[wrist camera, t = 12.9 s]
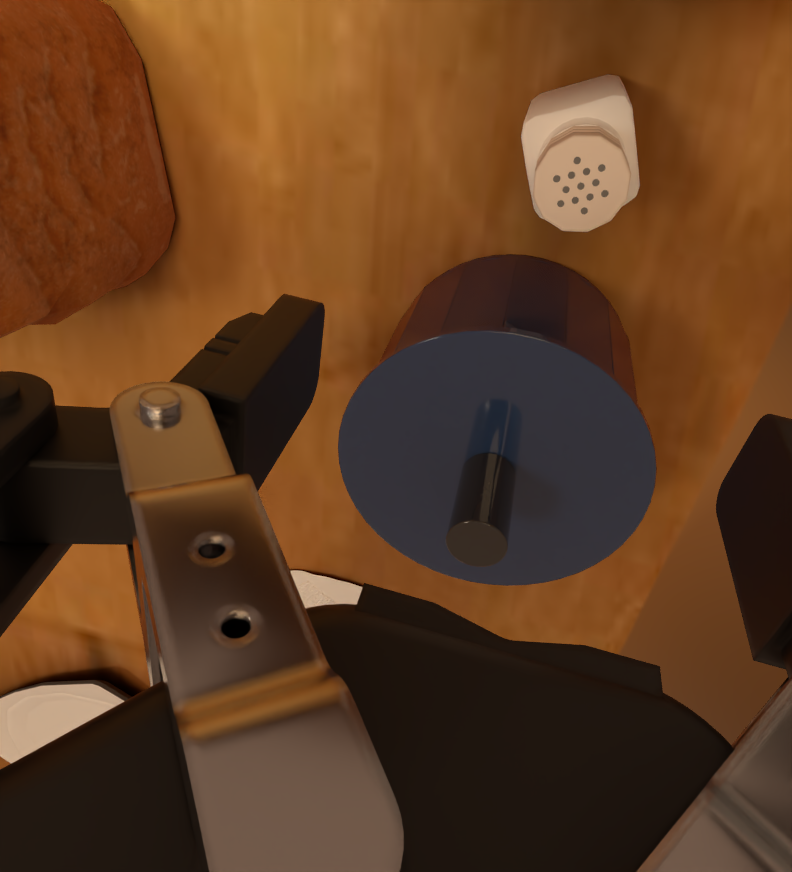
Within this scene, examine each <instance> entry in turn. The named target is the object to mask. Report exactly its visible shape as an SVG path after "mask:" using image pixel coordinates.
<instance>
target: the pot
mask: <svg viewBox="0 0 792 872" xmlns="http://www.w3.org/2000/svg"><path fill="white" fill-rule="evenodd" d="M476 326H497V327H508V328H516V329H521V330H526V331H531V332H536V333H539V334H542V335H545V336H548V337H551V338H554V339H557V340H560V341H562V342H564V343H566V344H568V345H570V346H572V347H575V348H577V349H579V350H581V351H582V352H584V353H585V354H587V355H589V356H590V357H592V358H593V359H595V360H596V361H598V362H599V363H601V364H602V365H603V366H604V367H605V368H606V369H608V370H609V371H610V372H611V373H612V374H614V375H615V376H616V377H617V378H618V379H619V380H620V382H621V383H622V384H623V385H624V386H625V387H626V388H627V389H628V391H629V392H630V393H631V394H632V396H633V397H634V399H635V400H636V402H637V395H636V388H635V381H634V373H633V366H632V359H631V351H630V344H629V339H628V337H627V335H626V333H625V331H624V328H623V326H622V324H621V321H620V319H619V317H618V315H617V313H616V312H615V310H614V308H613V307H612V305H611V304H610V302H609V301H608V300H607V299H606V298H605V296H604V295H603V294H602V293H601V292H600V291H599V290H598V289H597V288H596V287H595V286H594V285H593V284H591V283H590V282H589V281H588V280H587V279H585V278H584V277H582V276H581V275H579V274H578V273H576V272H575V271H573V270H571V269H568V268H566V267H564V266H562V265H560V264H558V263H555V262H552V261H549V260H546V259H542V258H537V257H532V256H526V255H494V256H488V257H483V258H478V259H474V260H471V261H468V262H465V263H462V264H460V265H458V266H456V267H454V268H452V269H450V270H448V271H446V272H445V273H443V274H442V275H440V276H439V277H437V278H436V279H434V280H433V281H432V282H431V283H430V284H428V285H427V286H426V287H424V289H423V290H422V291H421V292H420V294H419V295H418V296H417V297H416V298H415V299H414V301H413V303H412V304H411V306H410V307H409V309H408V310H407V311H406V313H405V314H404V315H403V317H402V318H401V320H400V322H399V324H398V326H397V328H396V329H395V331H394V333H393V335H392V337H391V339H390V341H389V343H388V345H387V347H386V349H385V351H384V353H383V355H382V357H381V359H380V361H382V360H383V359H384V358H385V357H386V356H388V355H389V354H391V353H392V352H394V351H396V350H397V349H399V348H401V347H402V346H404V345H406V344H408V343H410V342H412V341H415V340H417V339H419V338H422V337H424V336H427V335H431V334H434V333H438V332H441V331H444V330H450V329H457V328H463V327H476ZM380 361H379V362H380ZM637 404H638V403H637Z"/></svg>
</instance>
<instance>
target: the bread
mask: <svg viewBox="0 0 792 872" xmlns="http://www.w3.org/2000/svg"><path fill="white" fill-rule="evenodd" d="M174 221H175V213H174V208H173V204H172V199H171V194H170V190H169V185H168V180H167V176H166V171H165V166H164V162H163V157H162V152H161V147H160V143H159V138H158V134H157V129H156V124H155V120H154V115H153V111H152V106H151V101H150V97H149V92H148V88H147V83H146V79H145V74H144V69H143V65H142V60H141V58H140V56H139V55H138V53H137V51H136V49H135V48H134V46H133V44H132V42H131V40H130V39H129V37H128V35H127V33H126V32H125V30H124V28H123V26H122V25H121V23H120V21H119V19H118V18H117V16H116V14H115V12H114V11H113V9H112V7H110V6H108V5H106V4H104V3H102V2H100V1H98V0H0V338H1V337H3V336H5V335H8V334H10V333H12V332H14V331H16V330H18V329H21V328H23V327H25V326H27V325H38V324H56V323H58V322H60V321H62V320H63V319H65V318H67V317H69V316H70V315H72V314H74V313H76V312H77V311H79V310H81V309H82V308H84V307H86V306H88V305H89V304H91V303H93V302H94V301H96V300H97V299H99V298H100V297H102V296H103V295H104V294H106V293H107V292H109V291H110V290H113V289H117V288H121V287H125V286H127V285H129V284H130V283H132V282H134V281H135V280H137V279H138V278H140V277H142V276H143V275H145V274H146V273H147V272H148V270H149V269H150V268H151V267H152V266H153V265H154V264H155V262H156V261H157V260H158V259H159V258H160V257H161V255H162V254H163V253H164V252H165V251H166V250H167V248H168V246H169V242H170V238H171V234H172V229H173V225H174Z"/></svg>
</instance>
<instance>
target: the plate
mask: <svg viewBox="0 0 792 872" xmlns="http://www.w3.org/2000/svg"><path fill="white" fill-rule="evenodd" d="M130 698H131V696H130V695H128V694H126V693H125V692H123V691H121V690H120V689H118V688H117V687H115V686H113V685H112V684H110V683H109V682H106V681H103V680H80V681H56V682H44V683H40V684H36V685H33V686H29V687H25V688H21V689H18V690H15V691H12V692H10V693H7V694H5V695H2V696H0V756H1V757H2V758H4V759H5V760H7V761H8V762H10V763H13V762H15V761H17V760H19V759H20V758H22V757H24V756H26V755H28V754H30V753H31V752H33V751H35V750H37V749H39V748H40V747H42V746H44V745H46V744H48V743H50V742H51V741H53V740H55V739H57V738H59V737H60V736H62V735H64V734H66V733H68V732H70V731H71V730H73V729H75V728H77V727H79V726H80V725H82V724H84V723H86V722H88V721H90V720H91V719H93V718H95V717H97V716H99V715H100V714H102V713H104V712H106V711H108V710H110V709H111V708H113V707H115V706H117V705H119V704H121V703H122V702H124V701H126V700H128V699H130Z"/></svg>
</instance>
